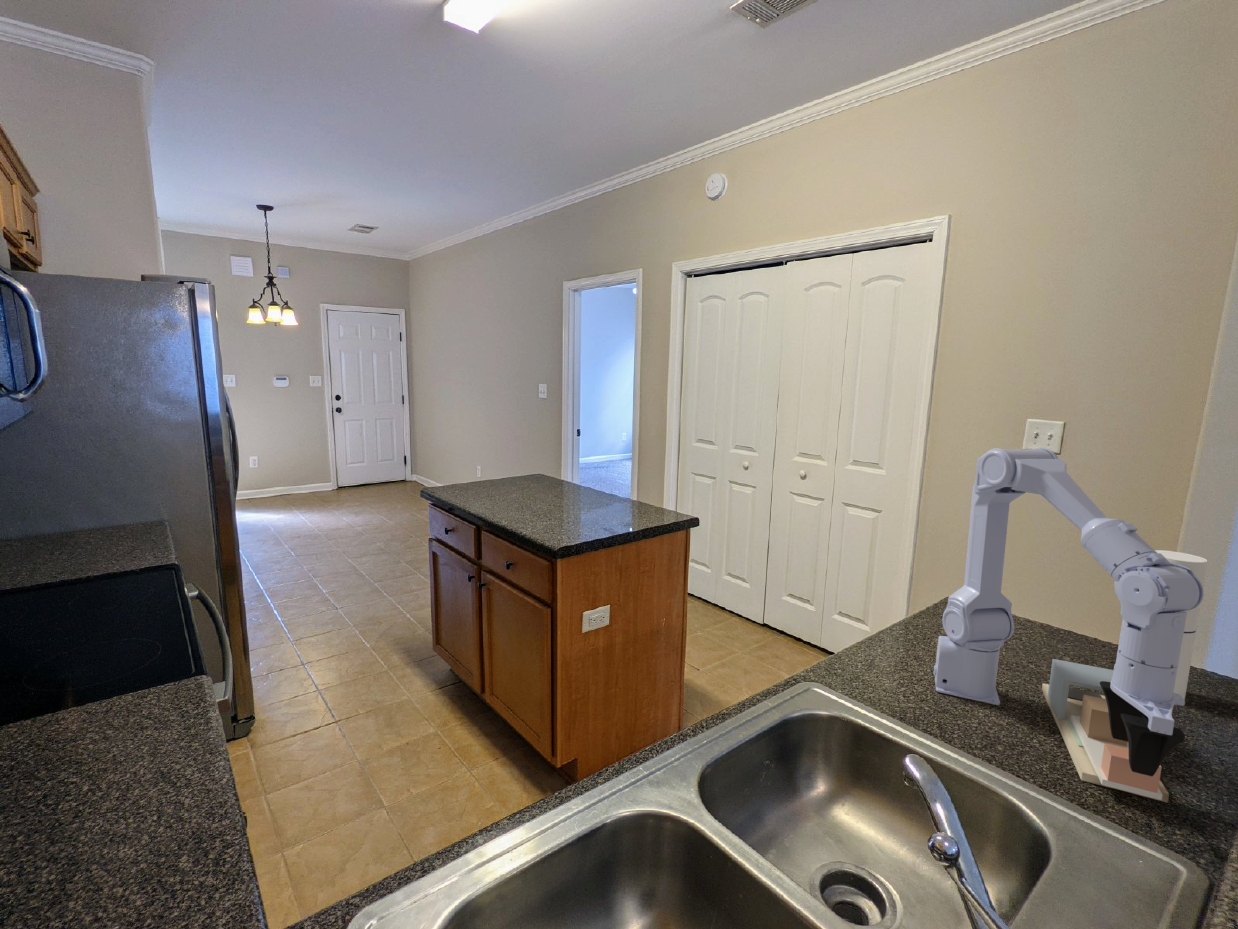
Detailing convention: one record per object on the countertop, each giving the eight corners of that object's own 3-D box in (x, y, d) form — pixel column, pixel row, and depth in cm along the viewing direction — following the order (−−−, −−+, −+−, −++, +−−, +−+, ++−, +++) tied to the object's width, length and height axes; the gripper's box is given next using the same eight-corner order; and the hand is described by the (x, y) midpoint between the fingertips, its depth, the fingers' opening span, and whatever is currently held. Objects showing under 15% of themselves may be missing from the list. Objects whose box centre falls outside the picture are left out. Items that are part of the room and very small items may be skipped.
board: (1081, 780, 79) (1082, 771, 79) (1041, 689, 103) (1042, 682, 102) (1167, 802, 75) (1169, 792, 75) (1105, 702, 99) (1106, 695, 98)
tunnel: (1057, 725, 92) (1063, 679, 91) (1047, 701, 99) (1052, 658, 98) (1130, 742, 88) (1137, 694, 87) (1113, 715, 95) (1120, 671, 94)
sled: (1101, 785, 76) (1107, 747, 75) (1070, 719, 91) (1074, 688, 90) (1161, 800, 73) (1167, 762, 72) (1118, 730, 88) (1123, 698, 87)
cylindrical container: (1196, 702, 99) (1220, 562, 96) (1155, 701, 99) (1176, 561, 96) (1158, 681, 106) (1179, 550, 103) (1119, 680, 106) (1139, 549, 103)
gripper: (1216, 692, 65) (1196, 801, 67) (1166, 642, 78) (1150, 734, 80) (1135, 677, 68) (1119, 781, 70) (1100, 631, 81) (1087, 720, 83)
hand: (1131, 755), depth 75 cm, fingers open, 7 cm apart
